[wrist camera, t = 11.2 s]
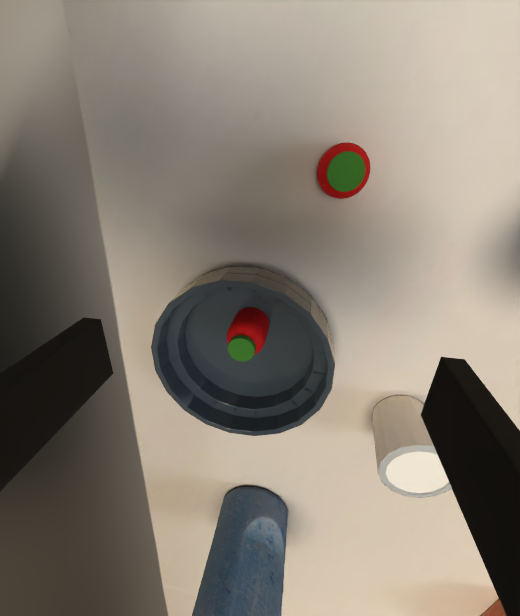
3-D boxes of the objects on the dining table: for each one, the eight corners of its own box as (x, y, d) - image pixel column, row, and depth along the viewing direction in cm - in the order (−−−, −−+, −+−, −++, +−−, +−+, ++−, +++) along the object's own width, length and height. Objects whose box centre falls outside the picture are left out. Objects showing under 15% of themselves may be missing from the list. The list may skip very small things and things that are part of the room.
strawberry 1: (227, 317, 30) (212, 343, 26) (255, 300, 29) (244, 325, 25) (248, 344, 31) (237, 373, 27) (276, 328, 30) (269, 356, 26)
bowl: (141, 318, 33) (116, 339, 29) (267, 228, 27) (259, 239, 23) (235, 423, 37) (225, 454, 33) (362, 368, 31) (369, 398, 27)
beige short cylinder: (433, 437, 33) (461, 499, 27) (369, 439, 35) (381, 498, 29) (433, 387, 31) (463, 444, 24) (363, 393, 32) (375, 447, 26)
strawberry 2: (308, 165, 24) (307, 165, 19) (349, 134, 23) (358, 126, 18) (331, 204, 25) (335, 212, 20) (372, 176, 24) (385, 179, 19)
